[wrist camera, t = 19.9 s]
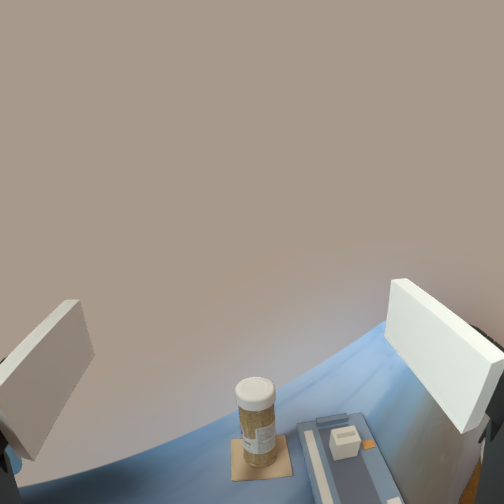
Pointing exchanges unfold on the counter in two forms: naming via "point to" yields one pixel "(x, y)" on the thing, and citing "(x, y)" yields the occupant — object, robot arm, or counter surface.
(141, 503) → the counter surface
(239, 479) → the cork coaster
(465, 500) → the disposable coffee cup
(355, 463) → the switch board
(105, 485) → the counter surface
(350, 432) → the ivory tab
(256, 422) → the sprinkles bottle
